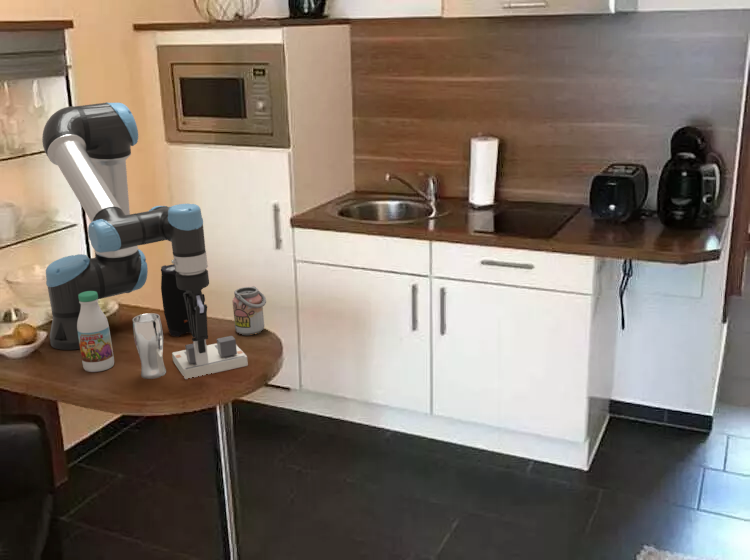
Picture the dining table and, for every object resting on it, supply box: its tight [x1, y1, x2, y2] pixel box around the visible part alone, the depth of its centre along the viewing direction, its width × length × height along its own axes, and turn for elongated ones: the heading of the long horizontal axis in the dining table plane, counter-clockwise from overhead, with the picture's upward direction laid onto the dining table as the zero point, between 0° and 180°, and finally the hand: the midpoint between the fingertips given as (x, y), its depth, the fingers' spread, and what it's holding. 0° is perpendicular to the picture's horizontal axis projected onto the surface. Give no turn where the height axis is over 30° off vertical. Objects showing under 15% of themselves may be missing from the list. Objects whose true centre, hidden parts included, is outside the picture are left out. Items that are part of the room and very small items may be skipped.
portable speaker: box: [160, 263, 192, 338], centre depth 232 cm, size 9×9×20 cm
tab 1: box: [184, 342, 196, 364], centre depth 207 cm, size 3×4×4 cm
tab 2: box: [216, 335, 237, 357], centre depth 210 cm, size 3×4×4 cm
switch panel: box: [171, 342, 249, 380], centre depth 212 cm, size 13×16×3 cm
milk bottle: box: [77, 291, 115, 373], centre depth 211 cm, size 8×8×20 cm
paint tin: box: [232, 285, 267, 336], centre depth 232 cm, size 9×8×12 cm
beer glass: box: [132, 312, 167, 380], centre depth 206 cm, size 7×7×15 cm
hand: (202, 363), depth 202 cm, fingers closed
